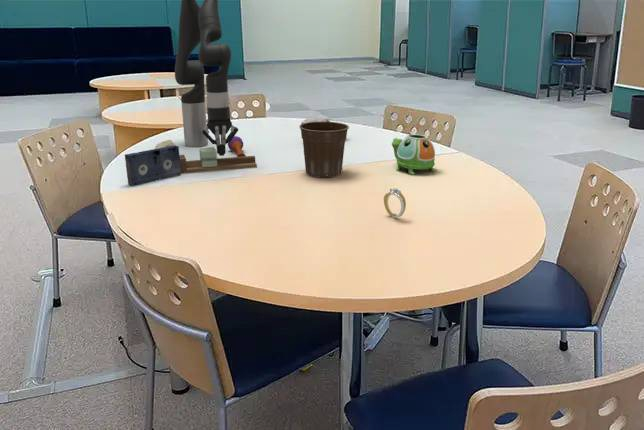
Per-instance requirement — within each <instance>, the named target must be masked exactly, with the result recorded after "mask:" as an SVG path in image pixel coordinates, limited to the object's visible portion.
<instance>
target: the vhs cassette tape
mask: <svg viewBox="0 0 644 430" xmlns="http://www.w3.org/2000/svg"><path fill="white" fill-rule="evenodd" d="M175 145H176V144H175ZM175 145H174V146H169V147H164V148H159V149H155V148H154V149H153V148H152V149H148V150H147V149H146V150H142V151H138V152H132V153H127V154H124V161H125V168H126V169H125V170H126V177H127V184H128V186H132V187H135V186H140V185H144V184H149V183H152V182H157V181H162V180H165V179H170V178H174V177H178V176H182V174H181V169H180V168H181V166H180V157H179V156H180V155H181V154H180V147H179V145H176V146H175Z"/></svg>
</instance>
